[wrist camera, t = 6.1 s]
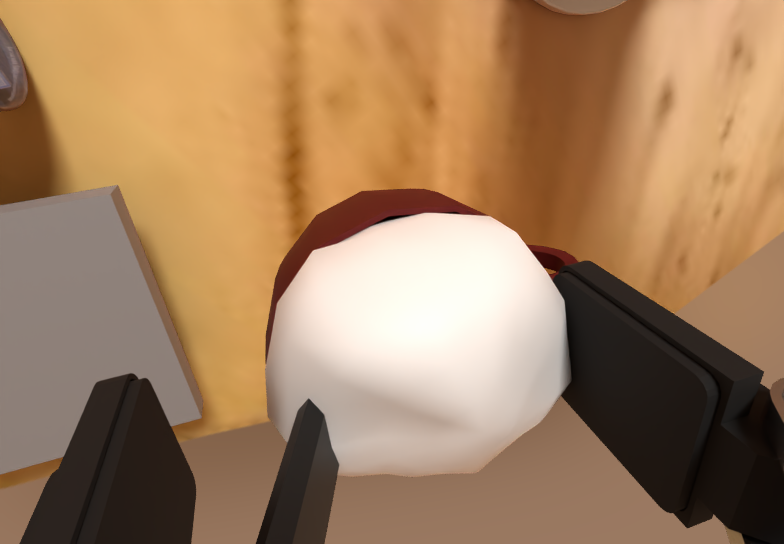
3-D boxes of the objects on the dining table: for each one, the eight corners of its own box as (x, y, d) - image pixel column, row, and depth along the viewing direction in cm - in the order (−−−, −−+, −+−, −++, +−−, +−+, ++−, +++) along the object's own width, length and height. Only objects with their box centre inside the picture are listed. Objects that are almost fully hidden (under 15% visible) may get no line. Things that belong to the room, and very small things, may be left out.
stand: (131, 168, 25) (110, 194, 21) (206, 367, 32) (201, 418, 28) (-176, 220, 23) (-273, 261, 18) (-25, 427, 29) (-70, 494, 25)
